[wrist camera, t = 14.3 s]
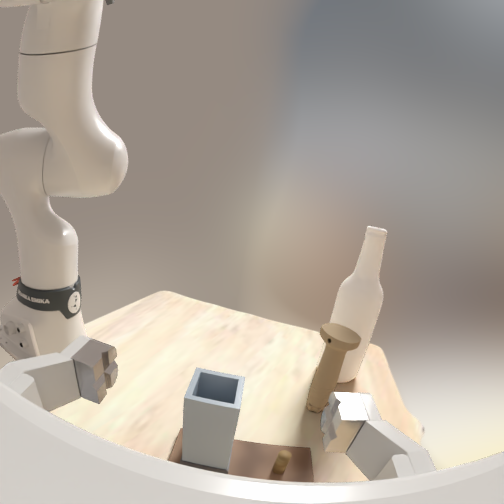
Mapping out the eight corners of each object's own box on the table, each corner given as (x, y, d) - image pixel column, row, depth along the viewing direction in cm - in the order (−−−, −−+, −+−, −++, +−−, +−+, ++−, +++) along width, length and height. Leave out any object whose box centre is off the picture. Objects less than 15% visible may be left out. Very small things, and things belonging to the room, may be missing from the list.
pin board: (163, 479, 25) (161, 461, 24) (180, 432, 34) (181, 411, 33) (312, 501, 25) (324, 484, 24) (308, 451, 34) (317, 432, 33)
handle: (312, 393, 48) (336, 320, 44) (337, 413, 43) (367, 338, 39) (292, 401, 45) (315, 325, 42) (317, 423, 40) (347, 346, 37)
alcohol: (307, 369, 55) (345, 221, 49) (329, 356, 61) (365, 223, 55) (343, 390, 49) (392, 233, 43) (362, 373, 55) (406, 234, 49)
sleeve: (180, 470, 27) (181, 398, 24) (189, 439, 32) (195, 366, 29) (226, 479, 27) (241, 411, 24) (231, 448, 32) (247, 376, 29)
